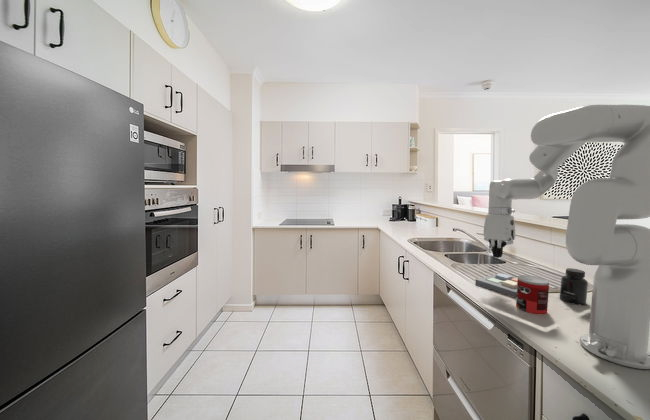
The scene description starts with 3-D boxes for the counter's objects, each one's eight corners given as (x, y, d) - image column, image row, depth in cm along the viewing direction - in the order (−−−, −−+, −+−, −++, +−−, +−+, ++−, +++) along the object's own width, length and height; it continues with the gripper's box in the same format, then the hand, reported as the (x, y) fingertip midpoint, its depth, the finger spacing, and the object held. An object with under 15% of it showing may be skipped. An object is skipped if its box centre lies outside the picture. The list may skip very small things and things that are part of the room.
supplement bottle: (562, 305, 90) (565, 271, 89) (556, 298, 96) (558, 266, 95) (589, 309, 87) (592, 274, 86) (581, 301, 93) (584, 268, 92)
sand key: (513, 290, 98) (513, 285, 98) (501, 286, 102) (501, 281, 101) (520, 288, 100) (520, 283, 99) (508, 284, 103) (508, 279, 103)
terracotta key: (522, 287, 100) (522, 282, 100) (510, 284, 104) (510, 279, 104) (528, 285, 102) (529, 280, 102) (516, 282, 106) (517, 277, 106)
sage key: (496, 287, 103) (497, 282, 103) (486, 284, 107) (486, 279, 107) (503, 285, 105) (503, 281, 105) (492, 282, 109) (492, 277, 109)
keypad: (514, 300, 94) (515, 292, 94) (475, 286, 108) (475, 279, 108) (540, 292, 102) (540, 284, 102) (500, 280, 115) (500, 273, 115)
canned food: (514, 304, 91) (516, 273, 90) (543, 309, 87) (546, 277, 86) (517, 313, 84) (519, 280, 83) (549, 319, 80) (552, 285, 79)
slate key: (506, 282, 106) (506, 277, 106) (495, 279, 110) (495, 274, 109) (512, 281, 108) (512, 276, 107) (501, 277, 111) (501, 273, 111)
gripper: (526, 212, 99) (523, 260, 100) (486, 209, 112) (484, 252, 113) (514, 213, 95) (512, 262, 97) (475, 210, 109) (473, 253, 110)
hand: (497, 256), depth 105 cm, fingers closed
